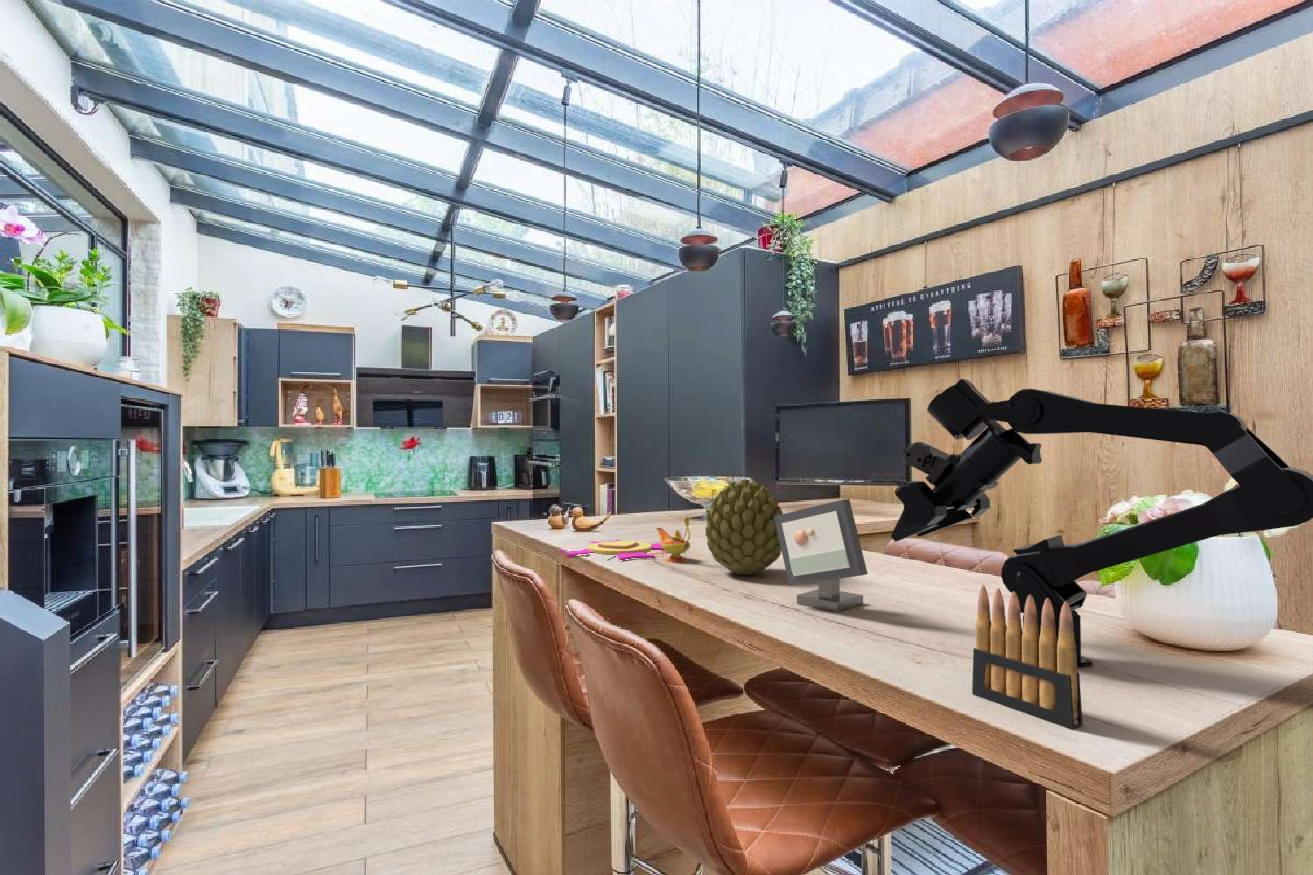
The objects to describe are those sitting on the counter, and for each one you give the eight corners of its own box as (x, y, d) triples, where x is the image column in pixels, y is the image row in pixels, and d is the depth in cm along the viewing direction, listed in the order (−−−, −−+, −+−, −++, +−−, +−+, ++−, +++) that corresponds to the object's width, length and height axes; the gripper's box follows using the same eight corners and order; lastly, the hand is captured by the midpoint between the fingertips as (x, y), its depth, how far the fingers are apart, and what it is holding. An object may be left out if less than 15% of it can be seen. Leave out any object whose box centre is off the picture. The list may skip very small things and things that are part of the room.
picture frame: (867, 573, 104) (849, 498, 107) (859, 576, 103) (840, 499, 105) (796, 584, 114) (780, 515, 117) (787, 586, 113) (772, 516, 115)
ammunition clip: (971, 694, 73) (970, 584, 73) (982, 691, 74) (980, 582, 74) (1072, 730, 64) (1070, 604, 64) (1083, 726, 65) (1081, 602, 65)
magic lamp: (669, 553, 170) (669, 509, 170) (703, 564, 153) (702, 516, 153) (644, 555, 167) (644, 511, 167) (676, 566, 150) (676, 518, 151)
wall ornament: (576, 556, 154) (551, 539, 183) (576, 566, 154) (551, 548, 183) (695, 548, 165) (654, 533, 193) (695, 557, 165) (654, 541, 193)
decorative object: (765, 565, 152) (764, 477, 152) (800, 579, 136) (799, 480, 136) (695, 569, 147) (694, 478, 148) (722, 584, 131) (721, 482, 131)
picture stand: (863, 603, 114) (862, 522, 115) (836, 612, 109) (835, 526, 109) (823, 596, 120) (822, 518, 120) (796, 603, 115) (795, 522, 115)
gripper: (967, 424, 101) (900, 492, 110) (908, 422, 89) (836, 499, 97) (1024, 477, 96) (948, 546, 104) (968, 483, 83) (887, 560, 91)
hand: (905, 536), depth 99 cm, fingers open, 7 cm apart
